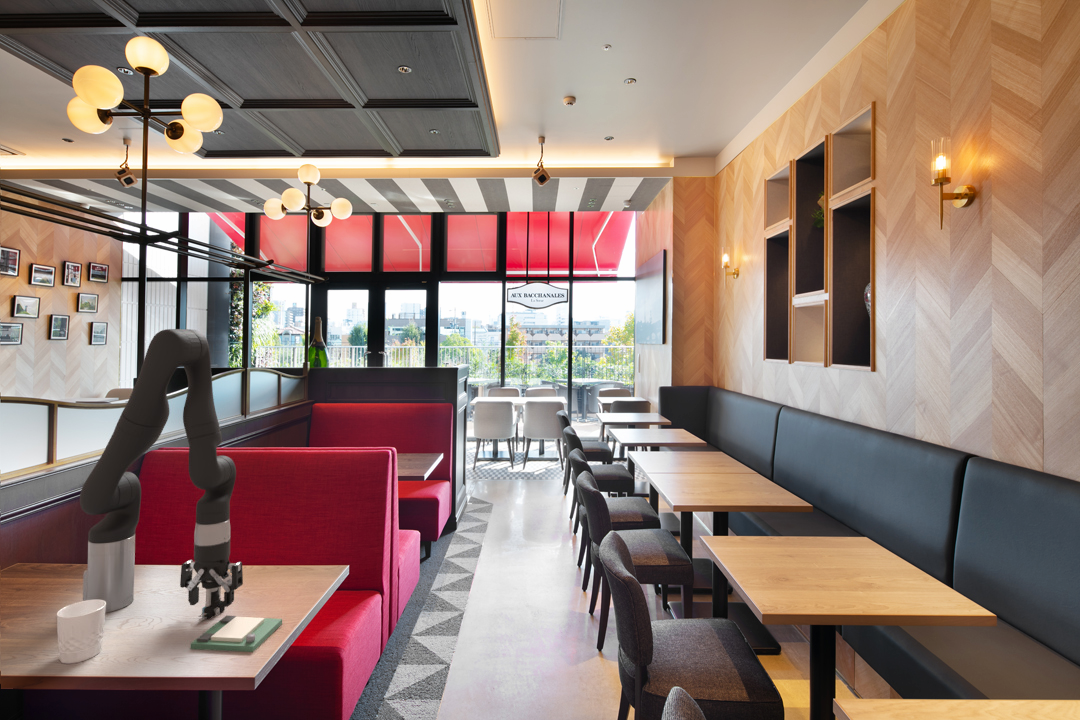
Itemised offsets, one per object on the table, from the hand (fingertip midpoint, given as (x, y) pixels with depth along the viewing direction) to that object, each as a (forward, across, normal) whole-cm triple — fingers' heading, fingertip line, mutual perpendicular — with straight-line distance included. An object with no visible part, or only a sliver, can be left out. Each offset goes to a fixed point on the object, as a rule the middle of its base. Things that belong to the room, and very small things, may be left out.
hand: (211, 604), depth 128 cm
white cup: (+3, -16, -18) cm, 24 cm away
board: (+3, +12, -8) cm, 14 cm away
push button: (+3, 0, 0) cm, 3 cm away
